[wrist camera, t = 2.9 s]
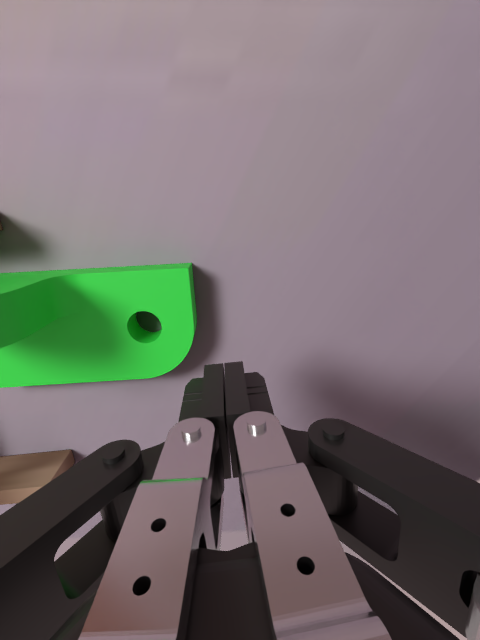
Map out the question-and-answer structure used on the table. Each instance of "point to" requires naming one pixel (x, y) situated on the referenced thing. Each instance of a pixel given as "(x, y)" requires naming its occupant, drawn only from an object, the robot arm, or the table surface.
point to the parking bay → (30, 471)
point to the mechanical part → (94, 324)
